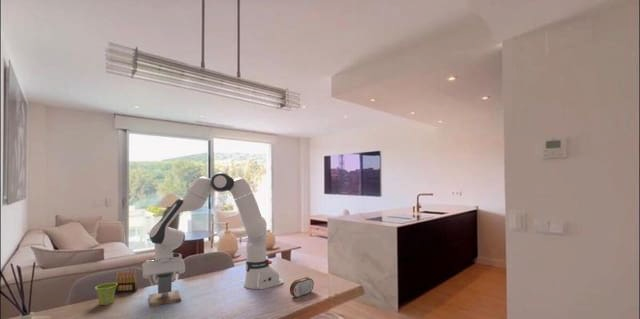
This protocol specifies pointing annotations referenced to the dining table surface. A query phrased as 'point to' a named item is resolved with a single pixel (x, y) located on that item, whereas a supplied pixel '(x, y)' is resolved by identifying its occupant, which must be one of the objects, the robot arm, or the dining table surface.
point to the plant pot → (106, 293)
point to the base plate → (158, 300)
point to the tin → (301, 287)
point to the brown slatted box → (126, 282)
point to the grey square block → (164, 283)
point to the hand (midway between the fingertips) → (164, 282)
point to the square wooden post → (164, 294)
